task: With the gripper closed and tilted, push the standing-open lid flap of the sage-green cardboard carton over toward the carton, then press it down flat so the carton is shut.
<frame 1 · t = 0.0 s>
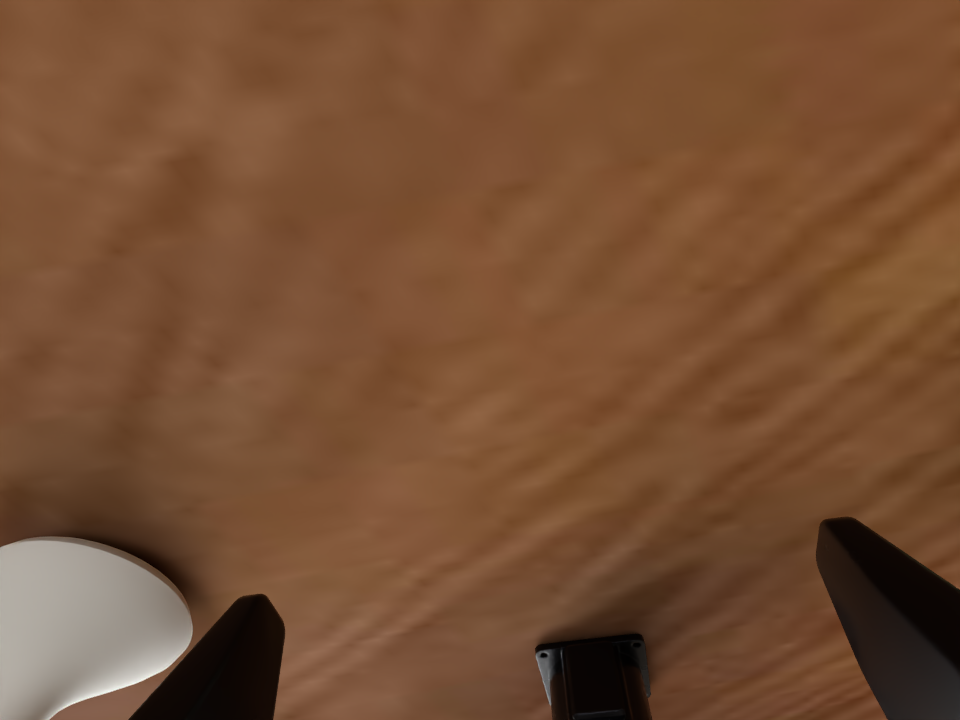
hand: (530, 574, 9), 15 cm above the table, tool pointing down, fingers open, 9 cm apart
flower in vase: (103, 573, 33), on the table
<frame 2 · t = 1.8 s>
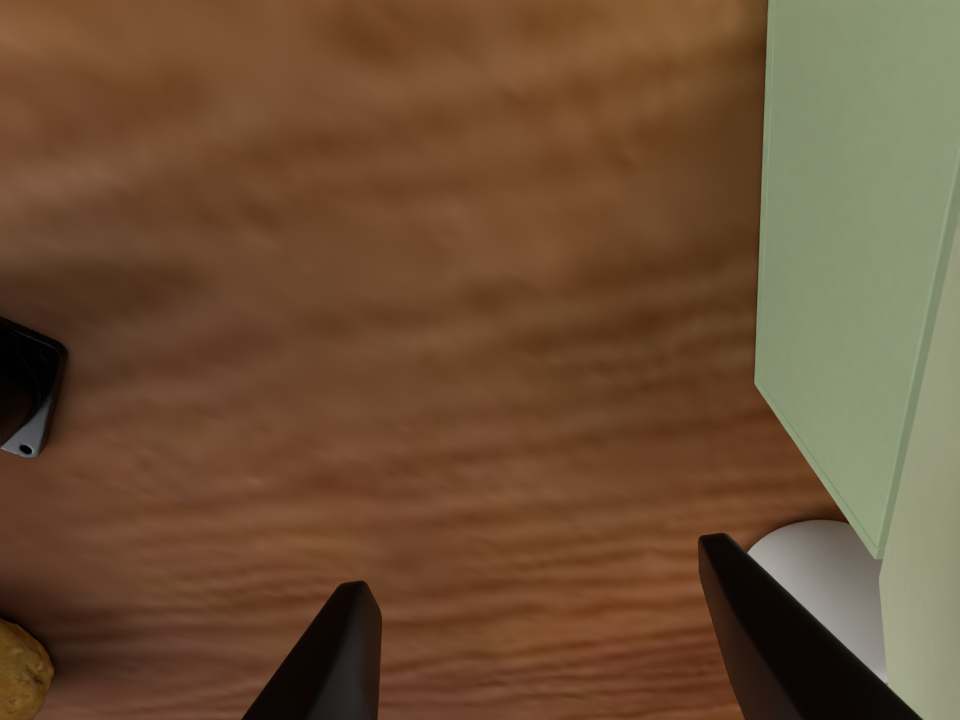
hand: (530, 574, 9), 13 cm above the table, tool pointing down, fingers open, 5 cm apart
cup: (790, 571, 29), on the table
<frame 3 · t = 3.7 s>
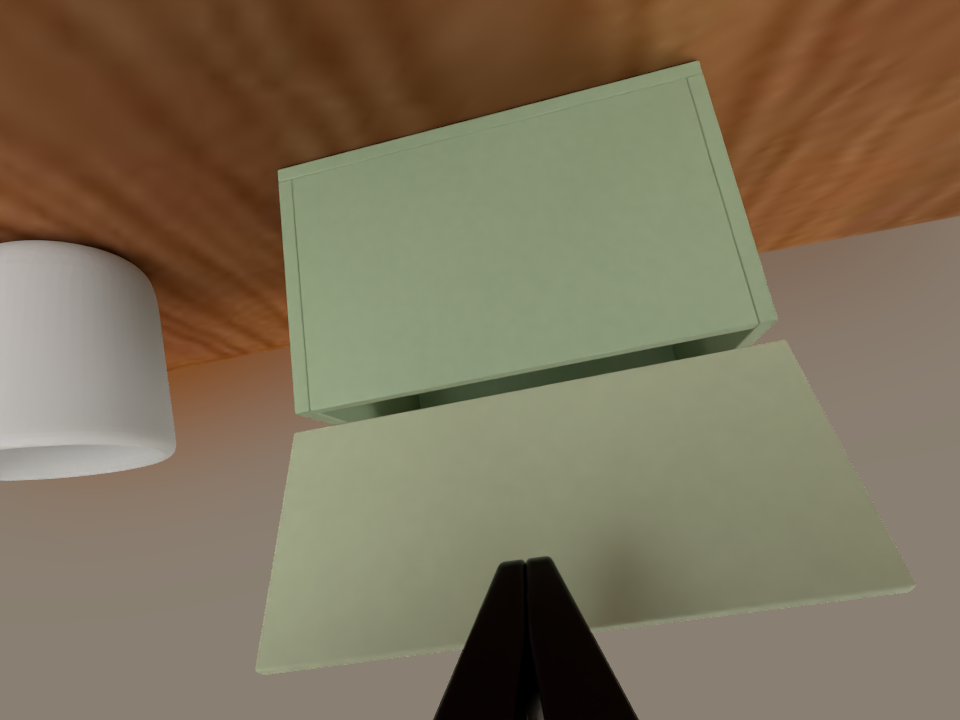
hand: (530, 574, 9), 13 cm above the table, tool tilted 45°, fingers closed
carton: (505, 212, 25), on the table
cup: (27, 267, 24), on the table
flap: (540, 496, 14), point 12 cm above the table, hinge at 114.7°
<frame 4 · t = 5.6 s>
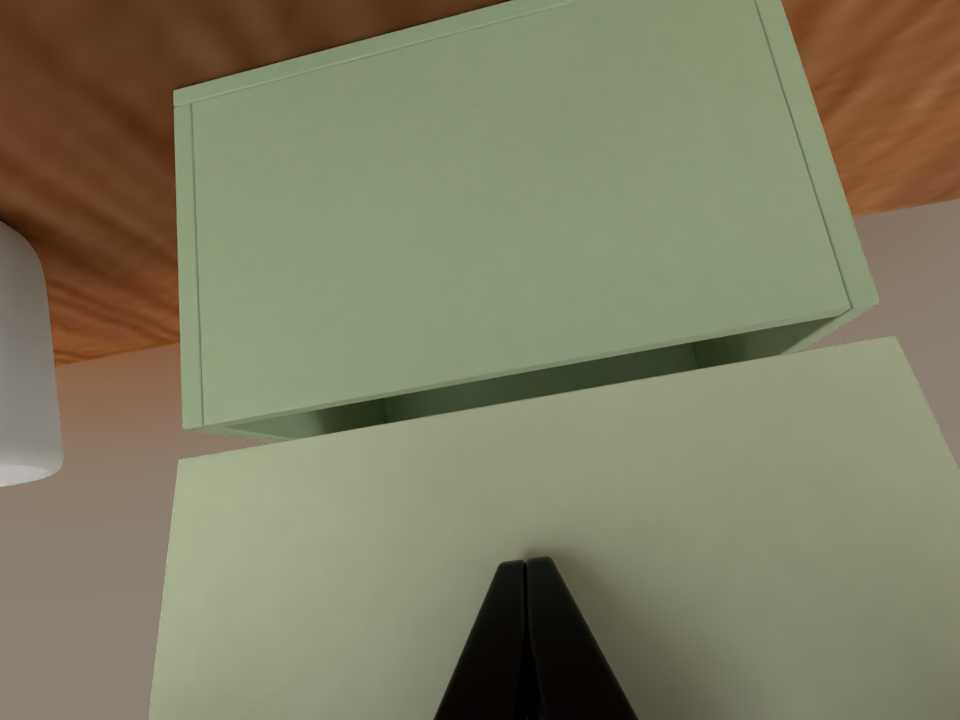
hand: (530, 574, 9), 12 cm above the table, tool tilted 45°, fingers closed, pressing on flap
carton: (488, 165, 20), on the table
flap: (533, 578, 10), point 12 cm above the table, hinge at 101.8°, touching gripper
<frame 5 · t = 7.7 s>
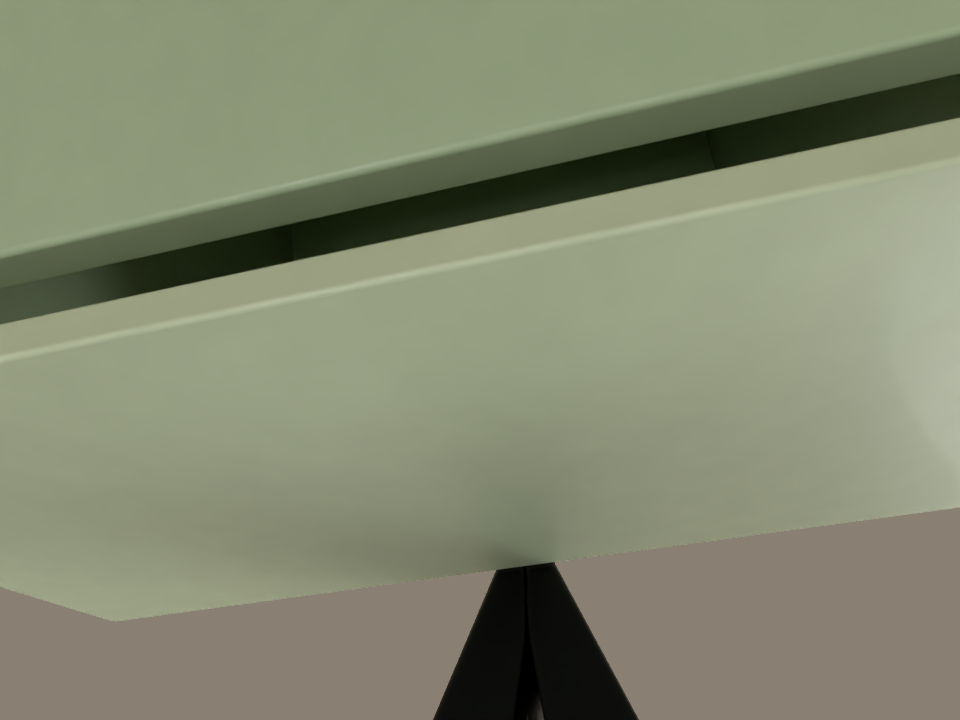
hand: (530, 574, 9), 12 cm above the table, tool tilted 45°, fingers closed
flap: (477, 465, 6), point 10 cm above the table, hinge at 23.3°, touching gripper
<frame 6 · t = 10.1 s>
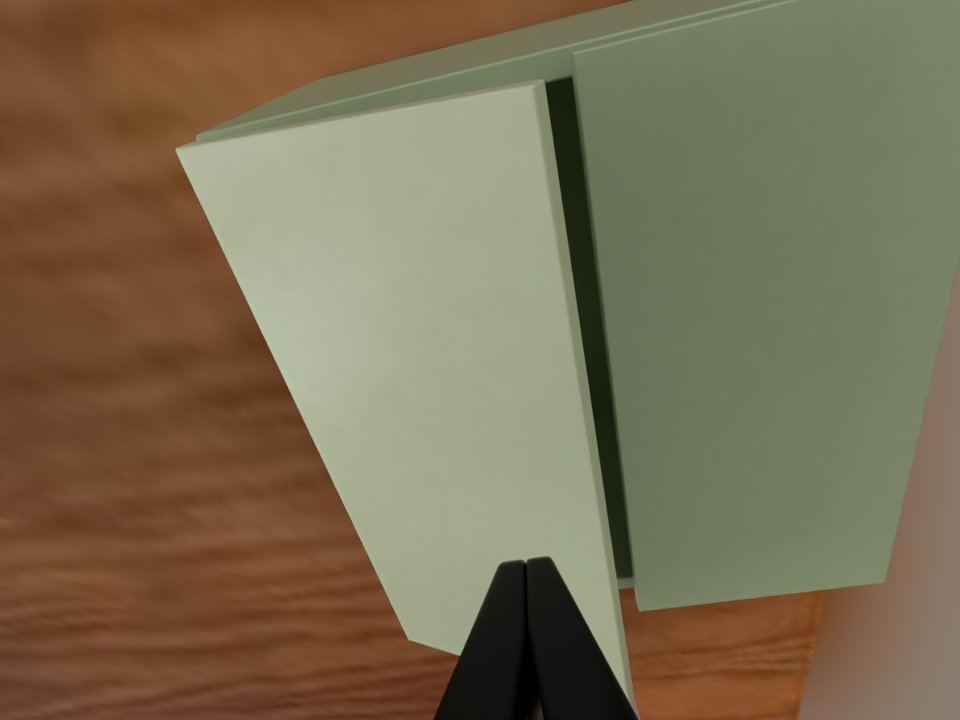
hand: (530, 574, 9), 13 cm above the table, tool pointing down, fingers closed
carton: (563, 252, 20), on the table
flap: (448, 474, 12), point 10 cm above the table, hinge at 22.9°
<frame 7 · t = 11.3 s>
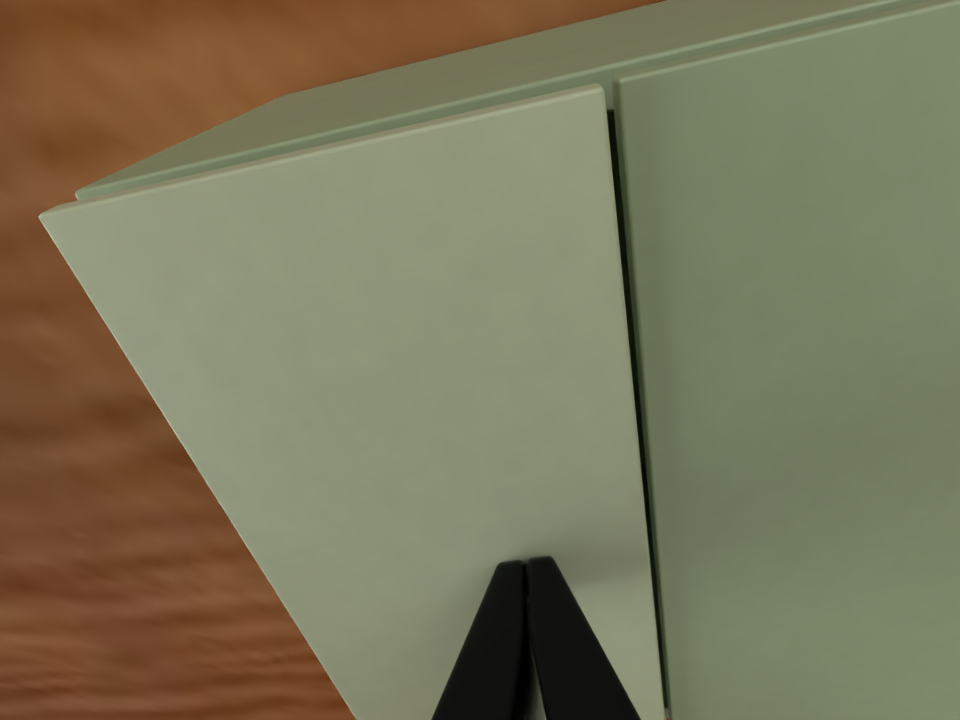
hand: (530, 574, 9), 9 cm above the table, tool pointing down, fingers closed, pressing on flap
carton: (578, 296, 17), on the table
flap: (455, 571, 10), point 9 cm above the table, hinge at 2.2°, touching gripper
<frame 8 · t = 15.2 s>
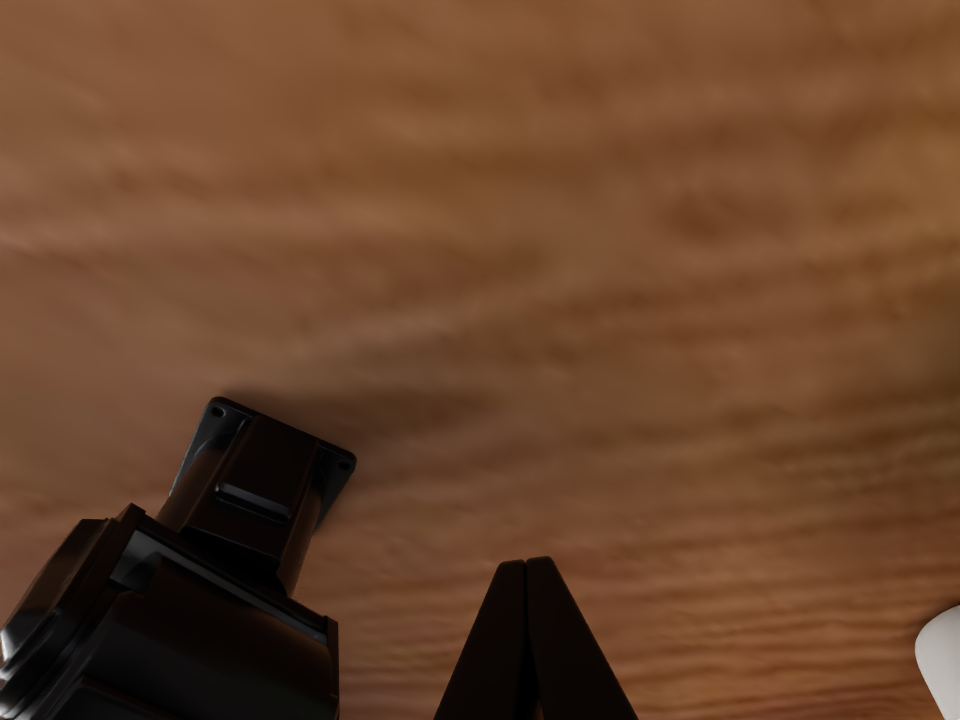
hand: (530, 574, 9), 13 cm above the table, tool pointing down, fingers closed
cup: (957, 638, 32), on the table
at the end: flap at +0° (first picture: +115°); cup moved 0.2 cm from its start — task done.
